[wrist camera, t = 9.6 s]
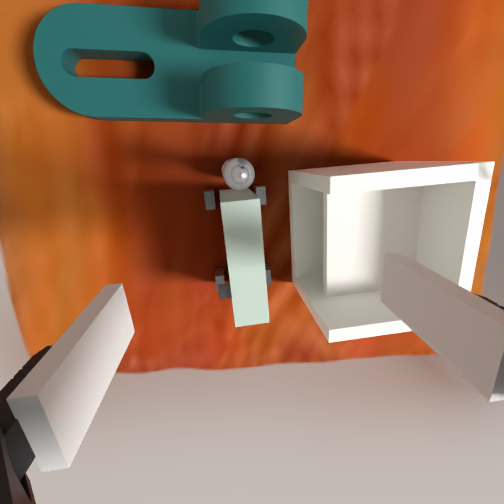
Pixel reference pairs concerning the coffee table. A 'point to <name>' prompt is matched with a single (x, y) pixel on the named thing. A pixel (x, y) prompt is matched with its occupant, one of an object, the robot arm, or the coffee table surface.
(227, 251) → the door
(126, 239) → the coffee table surface
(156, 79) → the bracket
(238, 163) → the small parts
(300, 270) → the cabinet
